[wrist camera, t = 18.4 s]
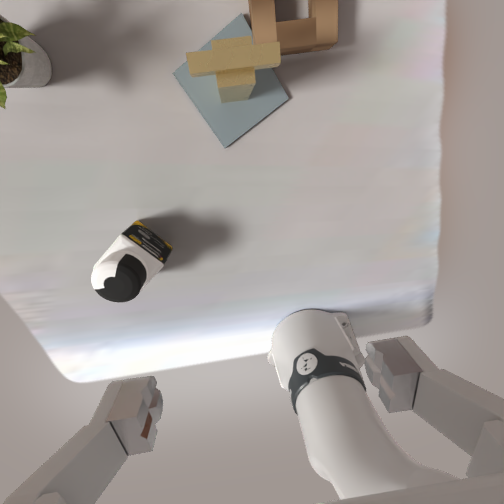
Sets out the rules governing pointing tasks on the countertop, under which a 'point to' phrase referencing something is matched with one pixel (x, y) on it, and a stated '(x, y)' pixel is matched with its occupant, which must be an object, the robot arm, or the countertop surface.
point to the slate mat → (239, 112)
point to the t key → (234, 65)
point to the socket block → (295, 27)
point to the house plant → (21, 60)
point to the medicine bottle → (129, 263)
